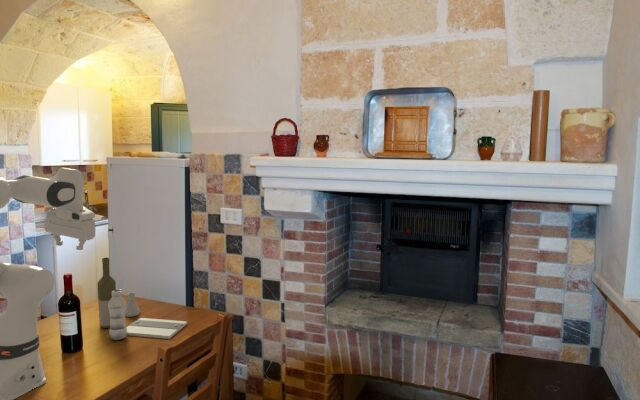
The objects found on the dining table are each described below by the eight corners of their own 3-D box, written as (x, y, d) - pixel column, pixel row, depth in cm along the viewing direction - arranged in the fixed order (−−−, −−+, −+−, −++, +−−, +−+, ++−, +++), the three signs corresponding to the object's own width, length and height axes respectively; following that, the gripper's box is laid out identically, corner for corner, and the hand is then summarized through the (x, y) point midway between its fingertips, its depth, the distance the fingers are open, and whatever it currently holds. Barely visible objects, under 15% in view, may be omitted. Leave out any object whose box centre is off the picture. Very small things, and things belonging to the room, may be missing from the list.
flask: (119, 316, 205) (119, 295, 204) (130, 310, 212) (130, 290, 210) (132, 318, 203) (132, 296, 201) (143, 312, 209) (143, 292, 208)
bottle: (120, 323, 196) (118, 256, 193) (111, 329, 189) (108, 260, 186) (104, 322, 196) (102, 256, 193) (95, 329, 189) (92, 259, 186)
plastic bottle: (127, 340, 178) (125, 292, 176) (108, 343, 176) (106, 294, 174) (127, 334, 184) (126, 287, 182) (109, 336, 182) (108, 289, 180)
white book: (169, 338, 181) (169, 334, 181) (119, 334, 184) (119, 330, 184) (186, 324, 197) (186, 320, 197) (140, 320, 200) (140, 316, 200)
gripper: (40, 208, 164) (40, 244, 166) (85, 217, 159) (84, 254, 161) (54, 206, 170) (54, 241, 172) (98, 214, 165) (97, 250, 167)
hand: (69, 247), depth 167 cm, fingers open, 8 cm apart
